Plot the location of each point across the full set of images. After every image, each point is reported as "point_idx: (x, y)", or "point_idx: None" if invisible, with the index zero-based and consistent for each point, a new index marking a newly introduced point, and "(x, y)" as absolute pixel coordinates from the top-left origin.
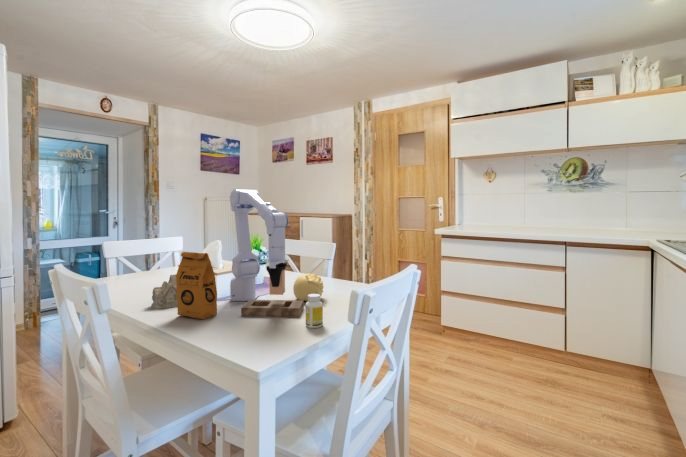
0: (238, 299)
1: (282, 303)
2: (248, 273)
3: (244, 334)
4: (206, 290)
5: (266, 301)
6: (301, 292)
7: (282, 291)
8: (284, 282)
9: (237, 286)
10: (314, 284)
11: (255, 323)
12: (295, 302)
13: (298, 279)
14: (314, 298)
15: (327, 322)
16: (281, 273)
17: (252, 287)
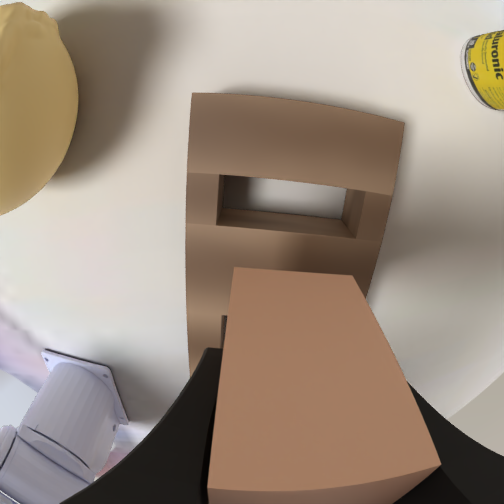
0: (116, 408)
1: (274, 243)
2: (56, 468)
3: (491, 319)
4: None
5: (220, 338)
6: (56, 136)
7: (357, 291)
8: (256, 329)
9: (100, 448)
10: (18, 31)
11: (419, 316)
12: (250, 150)
13: None
14: None
15: (451, 7)
16: (428, 453)
17: (71, 407)
